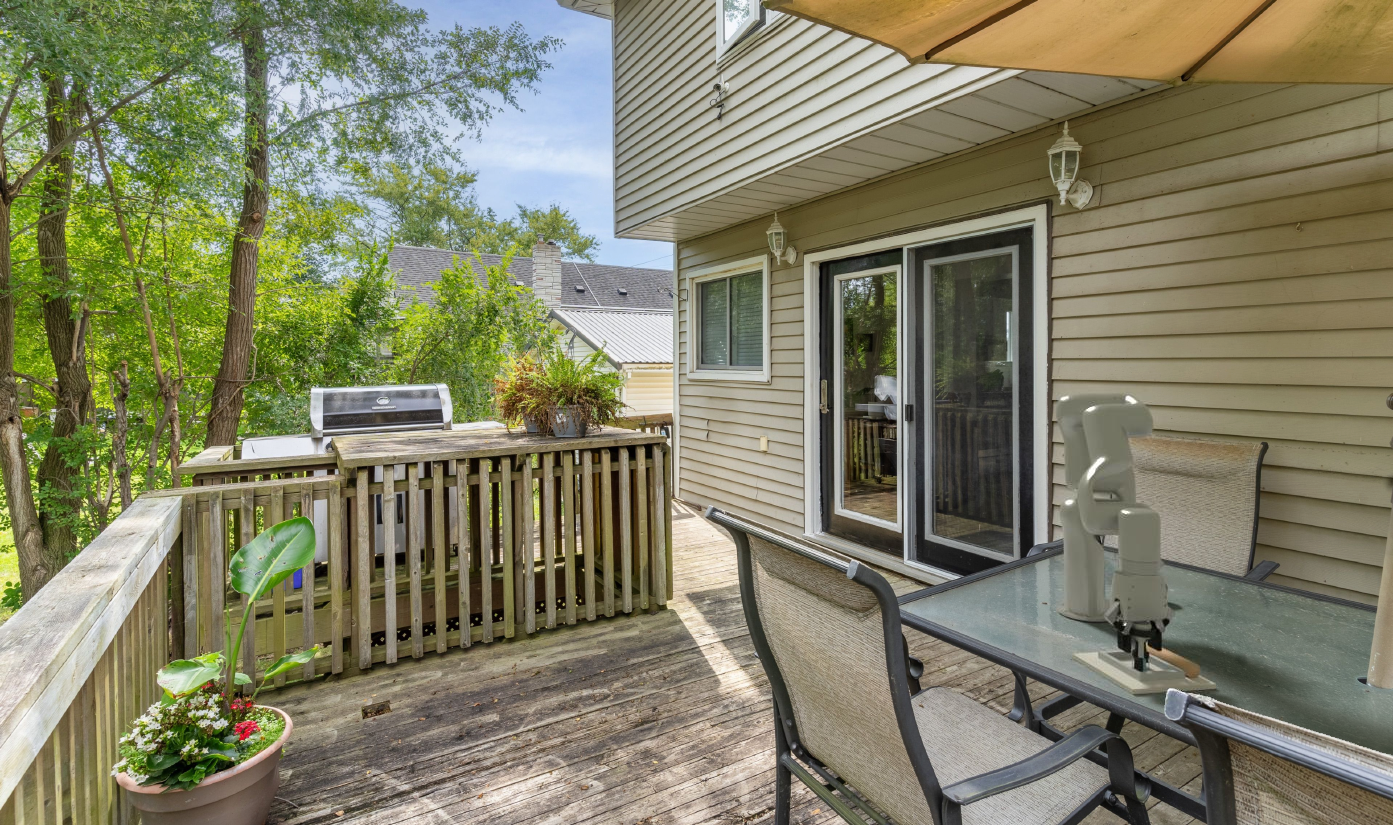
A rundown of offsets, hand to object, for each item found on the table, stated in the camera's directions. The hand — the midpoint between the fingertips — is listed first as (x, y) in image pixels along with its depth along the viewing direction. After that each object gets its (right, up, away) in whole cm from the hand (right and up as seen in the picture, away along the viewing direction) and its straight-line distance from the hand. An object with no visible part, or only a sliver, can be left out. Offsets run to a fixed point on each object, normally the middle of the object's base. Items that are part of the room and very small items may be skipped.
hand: (1139, 649), depth 138 cm
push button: (0, -4, 0) cm, 4 cm away
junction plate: (0, -5, 0) cm, 5 cm away
